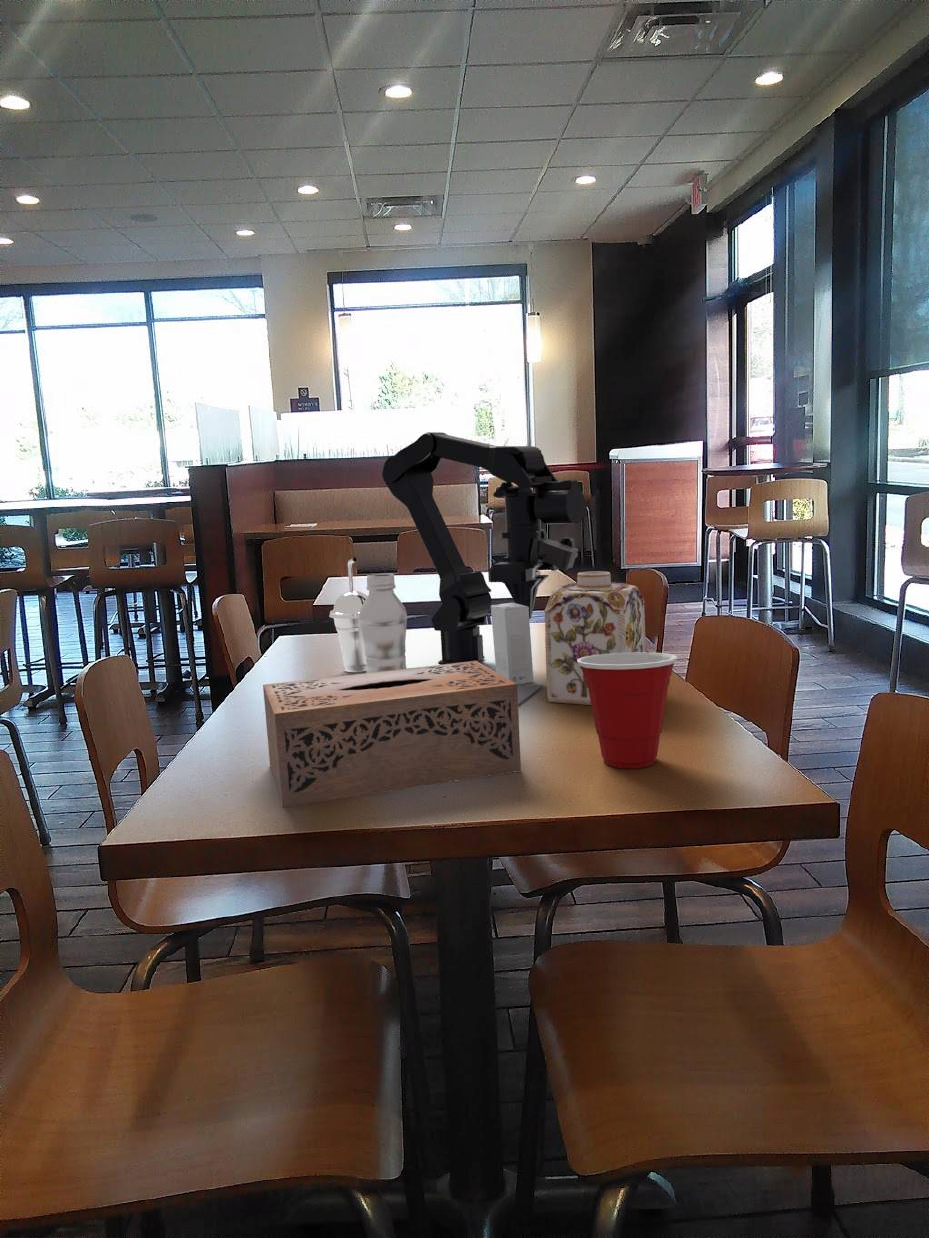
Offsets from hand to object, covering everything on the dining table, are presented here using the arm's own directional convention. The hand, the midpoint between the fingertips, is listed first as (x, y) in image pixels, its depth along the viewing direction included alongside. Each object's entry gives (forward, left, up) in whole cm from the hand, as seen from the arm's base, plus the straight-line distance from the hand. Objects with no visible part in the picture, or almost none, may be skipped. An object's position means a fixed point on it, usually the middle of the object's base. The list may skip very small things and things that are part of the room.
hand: (527, 619), depth 146 cm
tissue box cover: (+1, -52, -9) cm, 53 cm away
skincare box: (0, -8, -9) cm, 12 cm away
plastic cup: (+26, -43, -9) cm, 51 cm away
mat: (0, -18, -8) cm, 20 cm away
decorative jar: (+16, -15, -9) cm, 23 cm away
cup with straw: (-30, -5, -9) cm, 32 cm away
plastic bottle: (-8, -35, -9) cm, 37 cm away
